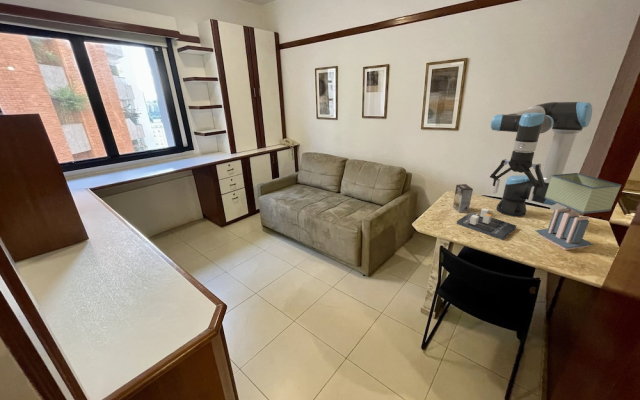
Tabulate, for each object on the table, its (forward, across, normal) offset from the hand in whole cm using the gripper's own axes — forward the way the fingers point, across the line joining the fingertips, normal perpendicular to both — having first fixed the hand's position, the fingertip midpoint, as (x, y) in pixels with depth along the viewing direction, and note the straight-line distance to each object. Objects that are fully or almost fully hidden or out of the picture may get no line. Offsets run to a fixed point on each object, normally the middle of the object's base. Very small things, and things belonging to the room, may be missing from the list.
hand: (511, 196), depth 118 cm
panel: (+27, -12, +16) cm, 34 cm away
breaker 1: (+24, -17, +10) cm, 31 cm away
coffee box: (+27, -32, +28) cm, 51 cm away
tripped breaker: (+24, -12, +16) cm, 32 cm away
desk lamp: (+27, +19, +26) cm, 42 cm away
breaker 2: (+24, -16, +23) cm, 37 cm away
